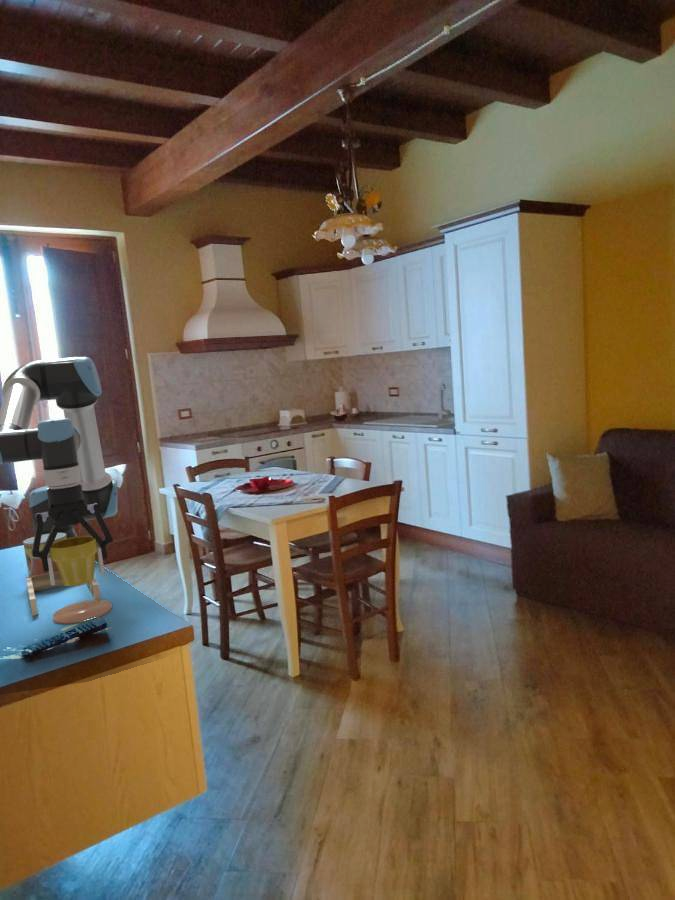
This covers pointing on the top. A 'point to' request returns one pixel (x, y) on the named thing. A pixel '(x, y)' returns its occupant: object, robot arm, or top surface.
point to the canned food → (35, 562)
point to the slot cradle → (44, 583)
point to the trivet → (82, 611)
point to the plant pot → (75, 559)
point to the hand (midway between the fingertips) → (77, 578)
